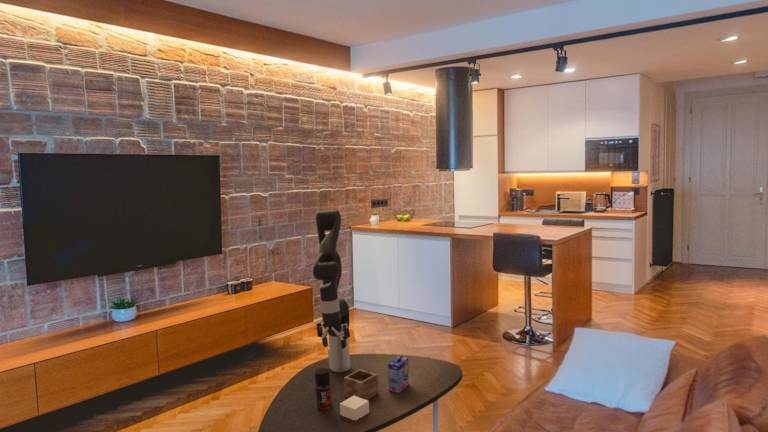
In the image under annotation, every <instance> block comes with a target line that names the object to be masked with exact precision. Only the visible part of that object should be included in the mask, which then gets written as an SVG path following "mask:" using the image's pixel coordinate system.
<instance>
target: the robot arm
mask: <svg viewBox="0 0 768 432" xmlns="http://www.w3.org/2000/svg"><path fill="white" fill-rule="evenodd" d="M315 223H316V230H317V237H318V244H319V251H318V257H317V259H316V261H315V262H314V266H313V267H312V268H313V269H312V275H313V277H314V279H316V280H317V281H322V285H321V286H320V287H319V295H320V296H319V297H320V309H321V316H322V317H321V319H322V321H319V322H317V323H316V331H317V332H316V334H317V337H318V338H321V341H322V346H323V348H327V347H329V348H328V349H327V355H328V369H329V370H330V371H332V372H334V373H343V372H347V371H349V370H350V369H351V357H350V341H349V340H350V339H349V338H350V337H351V334H350V307H349V304H348V302H347V301H346V300H345V299H344V298H340V297H339V295H338V294H339V293H338V288H339V286H340V282H341V278H342V274H343V273H342V272H343V271H342V270H343V269H342V268H343V267H342V259H341V255H339V253H338V251H337V245H338V244H337V243H338V240H339V235H340V232H341V227H342V217H341V213H340V211H339V210H338V209H328V210H327V209H326V210H324V209H323V210H318V211H316V214H315ZM327 231H329V233H328V234H326V232H327ZM323 328H324V329H323ZM323 330H324V331H323Z"/></svg>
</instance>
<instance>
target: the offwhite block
mask: <svg viewBox="0 0 768 432" xmlns="http://www.w3.org/2000/svg"><path fill="white" fill-rule="evenodd" d="M339 412H340V416H342V417H345V418H347V419H350V420H352V421H354V420H355V421H354V422H357V421H358V420H359V418H360V419H361V418H363V417H365V416H366V415H367V414H369V413H370V401H369V399H368V400H365V399H362V398H359V397H357V396H352V397H350V398H348V397H347V399H345V400H343V401H342V402H340V403H339ZM356 420H357V421H356Z"/></svg>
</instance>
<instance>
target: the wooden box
mask: <svg viewBox="0 0 768 432" xmlns="http://www.w3.org/2000/svg"><path fill="white" fill-rule="evenodd" d="M343 385H344V397H346V398H347V399H348V398H350V397H352V396H357V397H359V398H362V399H365V400H368V401H369V399H372V398H373V397H374V396H377V395H379V393H380V392H379V377H378V374H377V373H375V372H371V371H369V370H365V369H361V368H359V369H356V370H355V371H353V372H351V373H350V374H347V375H346V376H344V377H343Z"/></svg>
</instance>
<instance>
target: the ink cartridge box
mask: <svg viewBox="0 0 768 432" xmlns="http://www.w3.org/2000/svg"><path fill="white" fill-rule="evenodd" d="M403 355H404V354H401V355H397V356H396V357H395V358H393V359H392V360H391V361H389V363H388V364H387V373H388V374H387V376H388V379H387V380H388V381H387V382H388V391H389V392H394V393H396V394H400V393H401V392H402V391H403V390H405V388H406V387H408V385H409V357H406V356H403Z"/></svg>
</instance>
